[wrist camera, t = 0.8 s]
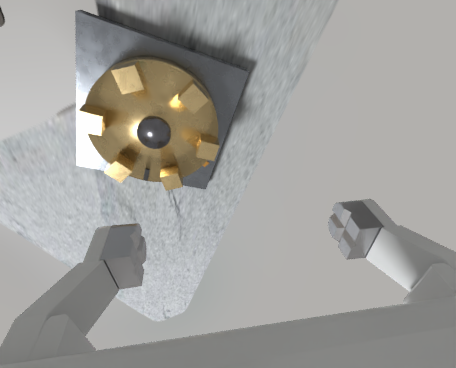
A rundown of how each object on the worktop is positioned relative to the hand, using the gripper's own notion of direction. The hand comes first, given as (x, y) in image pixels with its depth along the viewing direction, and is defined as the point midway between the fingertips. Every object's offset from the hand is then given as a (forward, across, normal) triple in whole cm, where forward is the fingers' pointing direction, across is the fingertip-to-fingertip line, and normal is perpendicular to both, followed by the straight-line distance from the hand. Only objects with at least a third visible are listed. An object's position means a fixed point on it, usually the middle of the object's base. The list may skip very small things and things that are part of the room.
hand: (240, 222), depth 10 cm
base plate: (+35, +8, +9) cm, 37 cm away
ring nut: (+33, +8, +9) cm, 35 cm away
